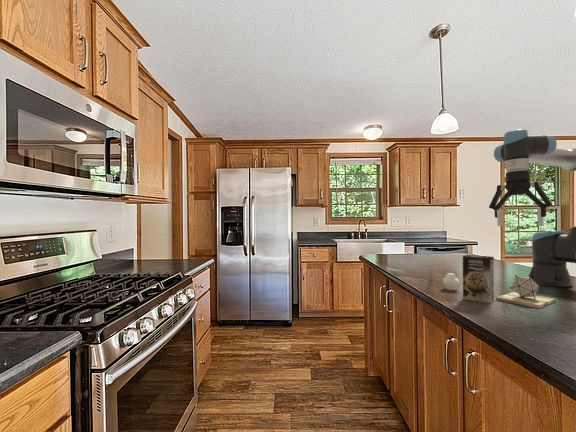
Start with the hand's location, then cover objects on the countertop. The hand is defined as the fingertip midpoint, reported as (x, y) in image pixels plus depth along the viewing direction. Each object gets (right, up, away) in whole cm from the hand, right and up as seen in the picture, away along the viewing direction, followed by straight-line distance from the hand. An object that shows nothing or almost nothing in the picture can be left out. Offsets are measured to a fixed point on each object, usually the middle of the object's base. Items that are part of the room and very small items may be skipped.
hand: (519, 226), depth 125 cm
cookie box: (-19, -27, -6) cm, 34 cm away
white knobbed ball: (-21, -27, +11) cm, 36 cm away
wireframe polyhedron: (-4, -26, -8) cm, 27 cm away
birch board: (-4, -27, -8) cm, 28 cm away
